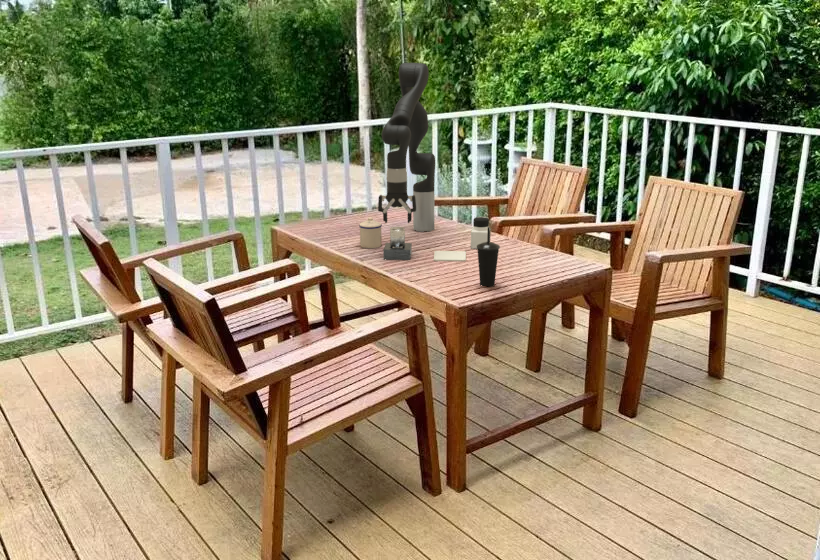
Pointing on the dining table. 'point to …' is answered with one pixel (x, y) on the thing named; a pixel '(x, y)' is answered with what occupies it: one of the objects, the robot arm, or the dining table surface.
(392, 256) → the housing
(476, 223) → the medicine bottle
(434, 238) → the dining table surface
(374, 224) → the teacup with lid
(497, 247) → the drinking cup
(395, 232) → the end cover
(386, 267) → the dining table surface
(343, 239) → the dining table surface
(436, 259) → the pad
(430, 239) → the dining table surface
